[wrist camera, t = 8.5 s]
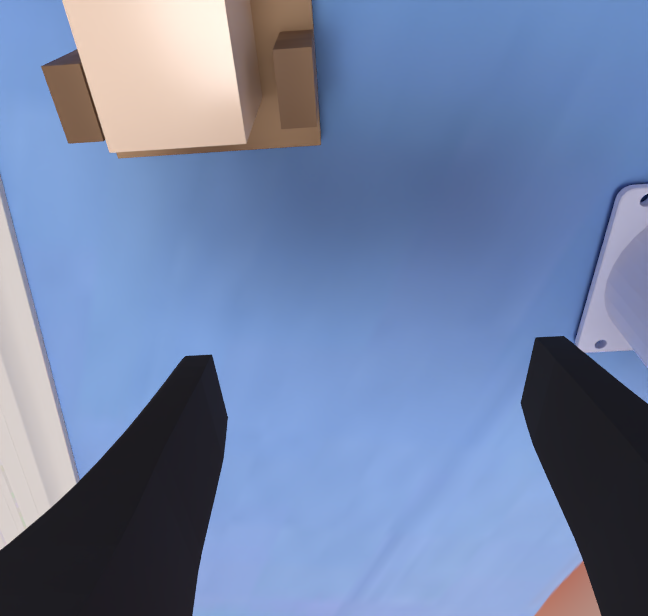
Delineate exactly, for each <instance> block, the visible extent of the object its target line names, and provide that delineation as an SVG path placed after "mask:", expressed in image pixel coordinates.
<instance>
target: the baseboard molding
mask: <svg viewBox="0 0 648 616" xmlns="http://www.w3.org/2000/svg"><path fill="white" fill-rule="evenodd" d="M79 481H80V480H79V476H78V473H77V469H76V465H75V461H74V457H73V453H72V449H71V446H70V442H69V438H68V434H67V430H66V426H65V422H64V419H63V415H62V411H61V407H60V403H59V399H58V395H57V392H56V388H55V384H54V380H53V376H52V372H51V368H50V365H49V361H48V357H47V353H46V349H45V345H44V342H43V338H42V334H41V330H40V326H39V322H38V318H37V315H36V311H35V307H34V303H33V299H32V295H31V291H30V288H29V284H28V280H27V276H26V272H25V268H24V264H23V261H22V257H21V253H20V249H19V245H18V241H17V237H16V234H15V230H14V226H13V222H12V218H11V214H10V211H9V207H8V203H7V199H6V195H5V191H4V187H3V184H2V180H1V176H0V550H1V549H2V548H4V547H5V546H6V545H7V544H9V543H10V542H11V541H12V540H13V539H15V538H16V537H17V536H18V535H19V534H21V533H22V532H23V531H24V530H25V529H26V528H28V527H29V526H30V525H31V524H32V523H34V522H35V521H36V520H37V519H38V518H39V517H41V516H42V515H43V514H44V513H45V512H47V511H48V510H49V509H50V508H51V507H52V506H53V505H54V504H56V503H57V502H58V501H59V500H60V499H61V498H62V497H63V496H64V495H65V494H66V493H67V492H68V491H69V490H70V489H71V488H72V487H74V486H75V485H76V484H77V483H78V482H79Z"/></svg>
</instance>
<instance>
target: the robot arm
mask: <svg viewBox="0 0 648 616" xmlns="http://www.w3.org/2000/svg"><path fill="white" fill-rule="evenodd" d="M646 194H648V184H637V185H630V186H627V187H625V188H623V189H622V190H621V191H620V192H619V193H618V195H617V197H616V199H615V203H614V206H613V210H612V213H611V217H610V220H609V224H608V227H607V231H606V234H605V238H604V241H603V245H602V248H601V252H600V255H599V259H598V262H597V266H596V269H595V273H594V276H593V280H592V283H591V287H590V290H589V294H588V297H587V301H586V304H585V308H584V311H583V315H582V318H581V322H580V326H579V329H578V333H577V336H576V340H575V344H576V345H574V344H573V343H572V342H571V341H569V340H568V339H567V338H565V337H564V336H555V337H537V338H535V342H534V346H533V351H532V355H531V360H530V364H529V369H528V373H527V378H526V382H525V386H524V391H523V395H522V400H521V406H522V409H523V413H524V416H525V420H526V424H527V427H528V430H529V433H530V437H531V440H532V443H533V446H534V448H535V450H536V453H537V455H538V457H539V460H540V462H541V464H542V467H543V469H544V471H545V473H546V476H547V478H548V480H549V482H550V485H551V487H552V489H553V491H554V493H555V496H556V498H557V500H558V502H559V505H560V507H561V509H562V511H563V514H564V516H565V518H566V520H567V522H568V525H569V527H570V529H571V531H572V534H573V536H574V538H575V541H576V543H577V546H578V548H579V551H580V553H581V556H582V558H583V561H584V564H585V567H586V570H587V573H588V576H589V579H590V582H591V585H592V588H593V591H594V594H595V597H596V600H597V603H598V606H599V609H600V612H601V616H648V404H647V403H646V402H645V401H643V400H642V399H641V398H640V397H638V396H637V395H636V394H634V393H633V392H632V391H631V390H629V389H628V388H627V387H626V386H624V385H623V384H622V383H621V382H619V381H618V380H617V379H616V378H614V377H613V376H612V375H611V374H610V373H608V372H607V371H606V370H605V369H603V368H602V367H601V366H600V365H599V364H597V363H596V362H595V361H594V360H593V359H591V358H590V357H589V356H588V355H587V354H585V353H590V352H609V351H628V350H634V351H635V353H636V354H637V355H638V356H639V358H640V359H641V360H642V362H643V363H644V364H645V366H646V367H647V368H648V198H647V199H646V200H645V201H643V202H640V200H641V198H642V197H643V196H644V195H646ZM599 340H602V341H600V342H599V343H596V342H598V341H599ZM584 352H585V353H584ZM227 420H228V416H227V412H226V408H225V404H224V401H223V397H222V393H221V389H220V385H219V381H218V377H217V373H216V369H215V365H214V361H213V357H212V355H197V356H185V357H184V358H183V359H182V360H181V361H180V363H179V364H178V365H177V367H176V368H175V369H174V371H173V372H172V373H171V375H170V376H169V377H168V379H167V380H166V381H165V382H164V384H163V385H162V386H161V388H160V389H159V390H158V392H157V393H156V394H155V395H154V397H153V398H152V399H151V401H150V402H149V403H148V404H147V406H146V407H145V408H144V409H143V410H142V412H141V413H140V414H139V415H138V417H137V418H136V419H135V420H134V421H133V423H132V424H131V425H130V426H129V427H128V429H127V430H126V431H125V432H124V433H123V434H122V436H121V437H120V438H119V439H118V440H117V441H116V442H115V443H114V444H113V446H112V447H111V448H110V449H109V450H108V451H107V452H106V453H105V455H104V456H103V457H102V458H101V459H100V460H99V461H98V462H97V463H96V464H95V465H94V466H93V467H92V468H91V469H90V471H89V472H88V473H87V474H86V475H85V476H84V477H83V478H82V479H81V480H80V481H79V482H78V483H77V484H76V485H75V486H74V487H72V488H71V489H70V490H69V491H68V492H67V493H66V494H65V495H64V496H63V497H62V498H61V499H60V500H59V501H58V502H57V503H56V504H54V505H53V506H52V507H51V508H50V509H49V510H48V511H47V512H45V513H44V514H43V515H42V516H41V517H39V518H38V519H37V520H36V521H35V522H34V523H32V524H31V525H30V526H29V527H28V528H26V529H25V530H24V531H23V532H22V533H21V534H19V535H18V536H17V537H16V538H15V539H13V540H12V541H11V542H10V543H9V544H7V545H6V546H5V547H4V548H2V549H1V550H0V616H192V614H193V606H194V599H195V591H196V584H197V576H198V570H199V565H200V560H201V554H202V550H203V545H204V541H205V537H206V533H207V528H208V524H209V520H210V515H211V511H212V507H213V503H214V498H215V494H216V490H217V485H218V481H219V476H220V472H221V468H222V463H223V458H224V450H225V441H226V430H227Z"/></svg>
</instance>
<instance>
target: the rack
mask: <svg viewBox="0 0 648 616" xmlns="http://www.w3.org/2000/svg"><path fill="white" fill-rule="evenodd" d="M250 5H251V13H252V20H253V28H254V36H255V44H256V52H257V59H258V67H259V75H260V83H261V91H262V101H261V104H260V106H259V109H258V112H257V115H256V118H255V121H254V123H253V126H252V129H251V132H250V135H249V138H248V140H247V143H246V144H236V145H221V146H206V147H191V148H176V149H161V150H146V151H131V152H116V153H117V156H118V158H131V157H146V156H162V155H177V154H192V153H207V152H222V151H238V150H253V149H268V148H283V147H298V146H314V145H321V131H320V116H319V101H318V86H317V71H316V57H315V42H314V27H313V12H312V0H250ZM41 67H42V70H43V73H44V76H45V79H46V82H47V84H48V87H49V90H50V93H51V96H52V98H53V101H54V104H55V107H56V110H57V113H58V115H59V118H60V121H61V124H62V127H63V130H64V132H65V135H66V138H67V141H68V144H69V143H84V142H99V141H104V140H105V136H104V133H103V130H102V127H101V123H100V120H99V117H98V114H97V110H96V107H95V104H94V101H93V98H92V94H91V91H90V88H89V85H88V82H87V78H86V75H85V72H84V69H83V66H82V62H81V59H80V56H79V53H78V49H77V50H75V51H73V52H71V53H69V54H66V55H64V56H62V57H60V58H58V59H56V60H54V61H52V62H49V63H47V64H45V65H43V66H41Z"/></svg>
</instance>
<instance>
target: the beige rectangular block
mask: <svg viewBox="0 0 648 616" xmlns="http://www.w3.org/2000/svg"><path fill="white" fill-rule="evenodd" d="M62 1H63V4H64V8H65V11H66V14H67V17H68V21H69V24H70V27H71V30H72V33H73V37H74V40H75V43H76V46H77V49H78V53H79V56H80V59H81V62H82V66H83V69H84V72H85V75H86V78H87V82H88V85H89V88H90V91H91V94H92V98H93V101H94V104H95V107H96V110H97V114H98V117H99V120H100V123H101V127H102V130H103V133H104V136H105V139H106V143H107V146H108V149H109V152H110V153H116V152H131V151H146V150H161V149H176V148H191V147H206V146H221V145H236V144H246V143H247V140H248V138H249V135H250V132H251V129H252V126H253V123H254V121H255V118H256V115H257V112H258V109H259V106H260V104H261V101H262V91H261V83H260V75H259V67H258V59H257V52H256V44H255V36H254V28H253V20H252V13H251V5H250V0H62Z"/></svg>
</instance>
